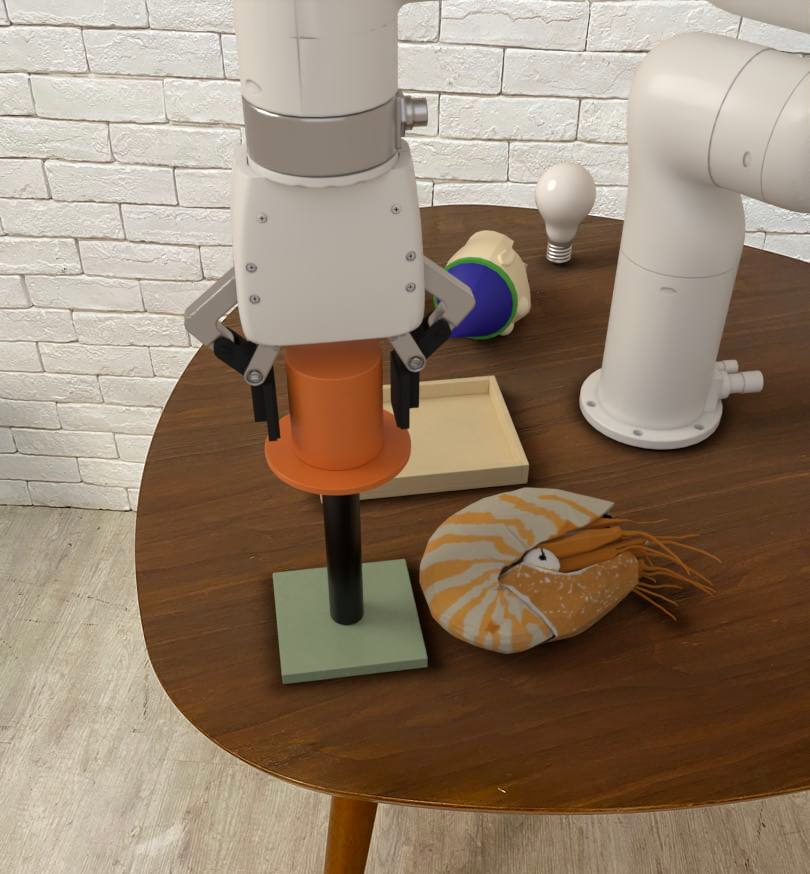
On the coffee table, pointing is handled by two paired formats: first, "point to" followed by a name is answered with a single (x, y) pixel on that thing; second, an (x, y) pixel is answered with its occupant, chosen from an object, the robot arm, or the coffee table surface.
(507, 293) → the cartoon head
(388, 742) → the coffee table surface
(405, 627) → the hat stand
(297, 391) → the hat
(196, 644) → the coffee table surface
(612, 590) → the nautilus
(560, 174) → the lightbulb
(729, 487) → the coffee table surface
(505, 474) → the tray
